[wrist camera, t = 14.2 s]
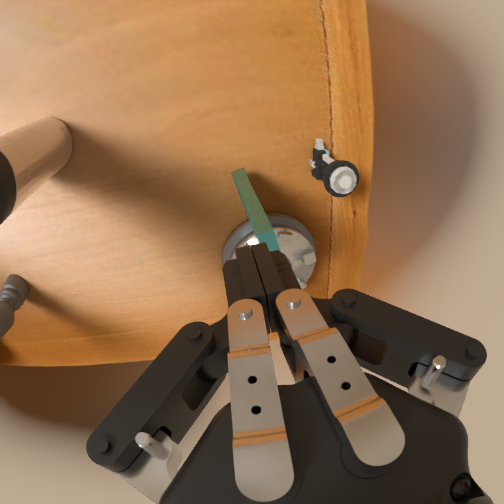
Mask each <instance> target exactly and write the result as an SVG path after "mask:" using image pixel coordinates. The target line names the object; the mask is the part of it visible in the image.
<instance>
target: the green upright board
mask: <svg viewBox="0 0 504 504" xmlns="http://www.w3.org/2000/svg"><path fill="white" fill-rule="evenodd" d="M231 174H232V176H233V179H234V182H235V184H236V187H237V189H238V192H239V195H240V197H241V200H242V202H243V205H244V207H245V210H246V213H247V215H248V218H249V220H250V223H251V226H252V228H253V231H251V232H249V233H248V234H246V235H245V236H244V237H243V238H242V239H241V240H240V241H239V242H238V243H237V244H236V246H235V247H234V248H238V247H243V246H248V245H249V246H250V245H253V244H258V243H263V242H266V244H267V246H268V249H269V251H270V252H271V251H276V250H279V251H281V252H282V253H283V254H285V255H286V257H287V259H288V261H289V263H290V265H291V267H292V270H293V272H294V274H295V276H296V278H297V280H298V282H299V284H300V286H301V289H302V290H303V289H304V288H305V287H306V286H307V284H306V282H307V281H308V279H309V278H310V276H311V274H312V272H313V269H314V266H315V262H317V261H316V257H315V253H314V250H313V248H312V246H311V244H310V242H309V241H308V239H307V238H306V237H305V235H304V234H303V233H302V232H300V231H299V230H297V229H295V228H293V227H291V226H287V225H281V224H273V225H271V224H270V221H269V219H268V217H267V215H266V213H265V211H264V209H263V207H262V205H261V203H260V201H259V199H258V197H257V195H256V194H255V192H254V190H253V188H252V186H251V184H250V181H249V179H248V176H247V173H246V171H245V169H244V168H242V169H239V170H236V171H234V172H231ZM250 248H251V247H250ZM232 259H236V254H235V249H233V251H232V253H231V256H230V260H232Z"/></svg>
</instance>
